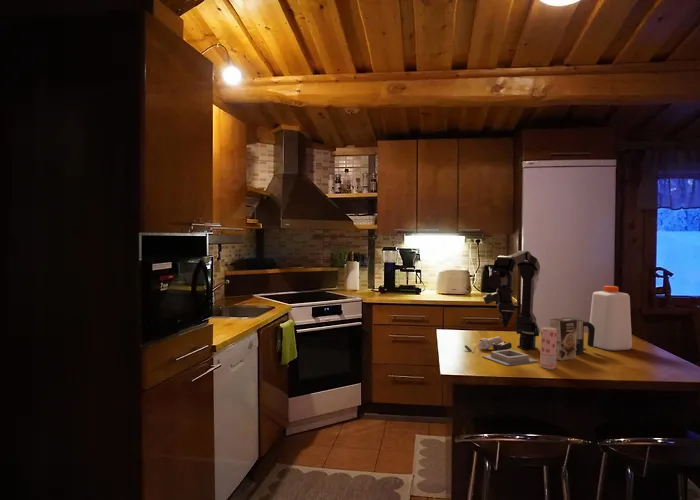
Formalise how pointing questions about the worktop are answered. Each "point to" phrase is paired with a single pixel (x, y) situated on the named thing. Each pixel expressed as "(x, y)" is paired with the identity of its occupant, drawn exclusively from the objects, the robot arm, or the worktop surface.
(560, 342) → the coffee box
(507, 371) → the worktop surface
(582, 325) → the milk frother
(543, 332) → the beverage can
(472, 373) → the worktop surface
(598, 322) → the plastic bottle
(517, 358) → the grey plate with frame
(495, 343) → the clip-on lamp
